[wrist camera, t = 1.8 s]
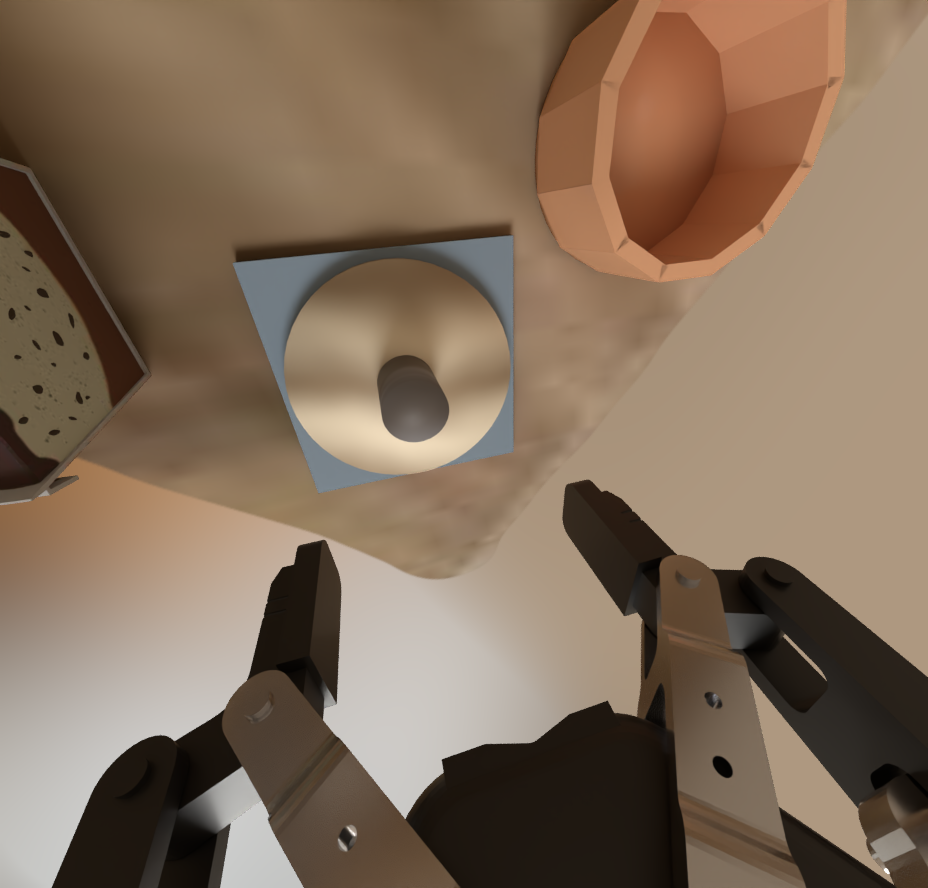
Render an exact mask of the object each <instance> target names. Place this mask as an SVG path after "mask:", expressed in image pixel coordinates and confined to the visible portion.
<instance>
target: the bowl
mask: <svg viewBox="0 0 928 888" xmlns="http://www.w3.org/2000/svg"><path fill="white" fill-rule="evenodd" d="M846 2H847V0H618V1H617V2H616V3H614V4H613V5H612V6H611V7H610V8H609V9H608V10H606V11H605V12H604V13H603V14H602V15H601V16H599V17H598V18H597V19H596V20H595V21H594V22H592V23H591V24H590V25H589V26H588V27H587V28H585V29H584V30H583V31H582V32H581V33H580V34H579V35H577V36H576V37H575V38H574V39H573V40H572V42H571V44H570V47H569V49H568V51H567V54H566V56H565V58H564V60H563V61H562V63H561V64H560V67H559V69H558V71H557V73H556V75H555V77H554V79H553V81H552V83H551V86H550V89H549V91H548V94H547V97H546V99H545V102H544V106H543V110H542V113H541V115H540V117H539V127H538V133H537V139H536V152H535V177H536V185H537V195H538V197H539V202H540V206H541V209H542V212H543V215H544V218H545V220H546V223H547V225H548V227H549V229H550V231H551V233H552V234H553V236H554V237H555V239H556V240H557V242H558V244H559V246H560V248H562V249H563V250H565V251H566V252H567V253H569V254H570V255H571V256H573V257H574V258H575V259H577V260H579V261H581V262H582V263H584V264H587V265H589V266H590V267H592V268H593V269H595V270H596V271H599V272H604V273H610V274H615V275H621V276H626V277H632V278H637V279H643V280H648V281H654V282H665V281H672V280H680V279H687V278H695V277H702V276H710V275H712V274H713V273H715V272H716V271H717V270H719V269H720V268H722V267H723V266H724V265H726V264H727V263H728V262H730V261H731V260H732V259H734V258H735V257H736V256H738V255H739V254H740V253H742V252H743V251H745V250H746V249H747V248H749V247H750V246H751V245H753V244H754V243H755V242H757V241H758V240H760V239H761V238H762V237H763V236H765V234H766V233H767V232H768V230H769V229H770V227H771V226H772V224H773V223H774V222H775V220H776V219H777V217H778V216H779V214H780V213H781V211H782V210H783V209H784V207H785V206H786V204H787V203H788V201H789V200H790V199H791V197H792V196H793V194H794V193H795V192H796V190H797V189H798V187H799V186H800V184H801V183H802V182H803V180H804V179H805V177H806V176H807V174H808V173H809V171H810V170H811V169H812V167H813V164H814V161H815V158H816V156H817V153H818V150H819V147H820V144H821V141H822V139H823V136H824V133H825V130H826V127H827V124H828V122H829V119H830V116H831V113H832V110H833V107H834V105H835V102H836V99H837V96H838V93H839V90H840V87H841V85H842V82H843V79H844V71H845V36H846Z"/></svg>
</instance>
